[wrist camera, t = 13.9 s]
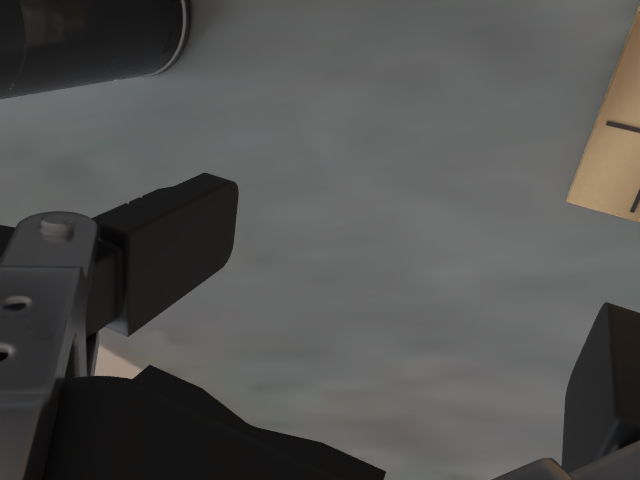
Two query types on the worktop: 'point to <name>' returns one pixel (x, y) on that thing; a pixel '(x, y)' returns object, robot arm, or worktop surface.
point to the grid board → (614, 142)
